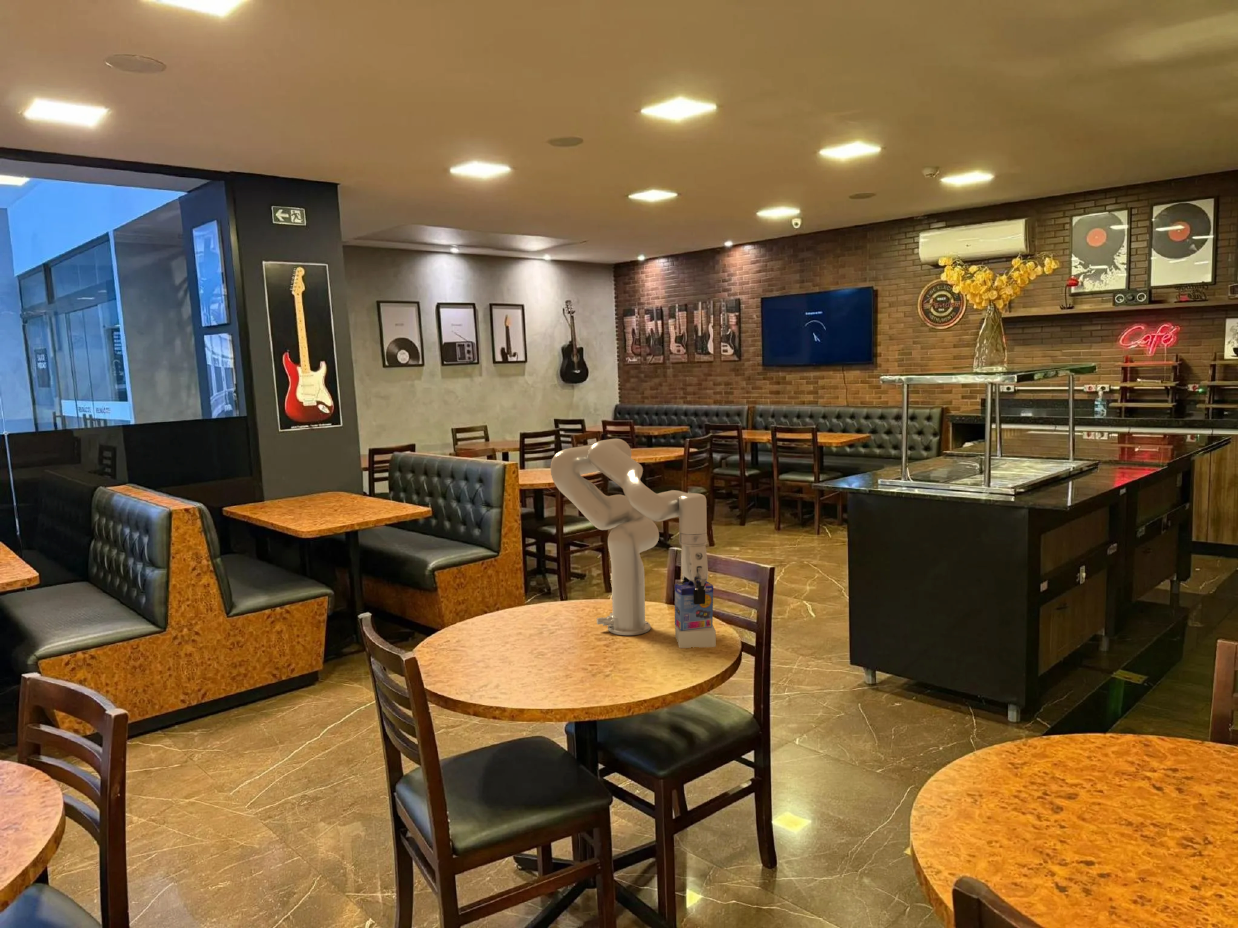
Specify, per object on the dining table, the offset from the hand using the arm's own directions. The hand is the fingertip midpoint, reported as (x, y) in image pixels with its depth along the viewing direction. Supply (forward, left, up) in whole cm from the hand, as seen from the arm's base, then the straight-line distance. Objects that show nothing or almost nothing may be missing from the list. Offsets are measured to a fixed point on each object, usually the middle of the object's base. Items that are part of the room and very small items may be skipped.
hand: (693, 599), depth 235 cm
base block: (0, 0, -13) cm, 13 cm away
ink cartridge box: (0, 0, -8) cm, 8 cm away
